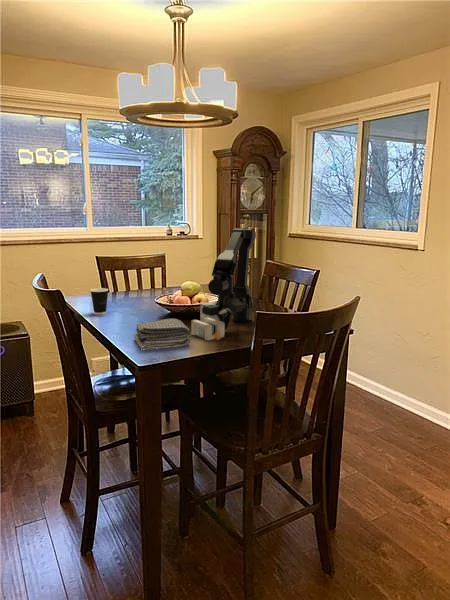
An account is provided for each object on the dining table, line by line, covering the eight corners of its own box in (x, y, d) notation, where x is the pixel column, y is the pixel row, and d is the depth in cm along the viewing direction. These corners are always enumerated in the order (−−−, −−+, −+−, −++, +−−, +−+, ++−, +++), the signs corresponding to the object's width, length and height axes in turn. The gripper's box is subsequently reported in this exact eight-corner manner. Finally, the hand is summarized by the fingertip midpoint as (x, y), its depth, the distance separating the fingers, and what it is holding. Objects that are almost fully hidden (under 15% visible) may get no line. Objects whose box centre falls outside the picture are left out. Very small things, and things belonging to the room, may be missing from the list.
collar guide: (208, 331, 180) (208, 317, 179) (227, 337, 171) (227, 323, 170) (191, 334, 175) (191, 320, 174) (210, 341, 166) (210, 326, 165)
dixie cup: (105, 315, 202) (104, 291, 200) (88, 315, 203) (87, 290, 201) (111, 311, 210) (110, 288, 208) (95, 311, 211) (93, 287, 209)
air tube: (218, 331, 179) (218, 321, 178) (224, 333, 176) (224, 323, 175) (197, 335, 173) (197, 325, 172) (204, 338, 170) (204, 327, 169)
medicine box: (212, 321, 196) (212, 301, 194) (220, 322, 193) (220, 302, 191) (199, 324, 190) (200, 304, 188) (207, 326, 187) (208, 305, 185)
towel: (191, 347, 160) (191, 325, 159) (139, 351, 154) (138, 329, 153) (181, 335, 174) (181, 315, 173) (133, 339, 168) (132, 318, 167)
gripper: (219, 296, 163) (219, 338, 166) (257, 290, 175) (256, 329, 178) (201, 291, 172) (201, 331, 175) (238, 286, 183) (237, 324, 187)
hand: (225, 329), depth 178 cm, fingers closed
